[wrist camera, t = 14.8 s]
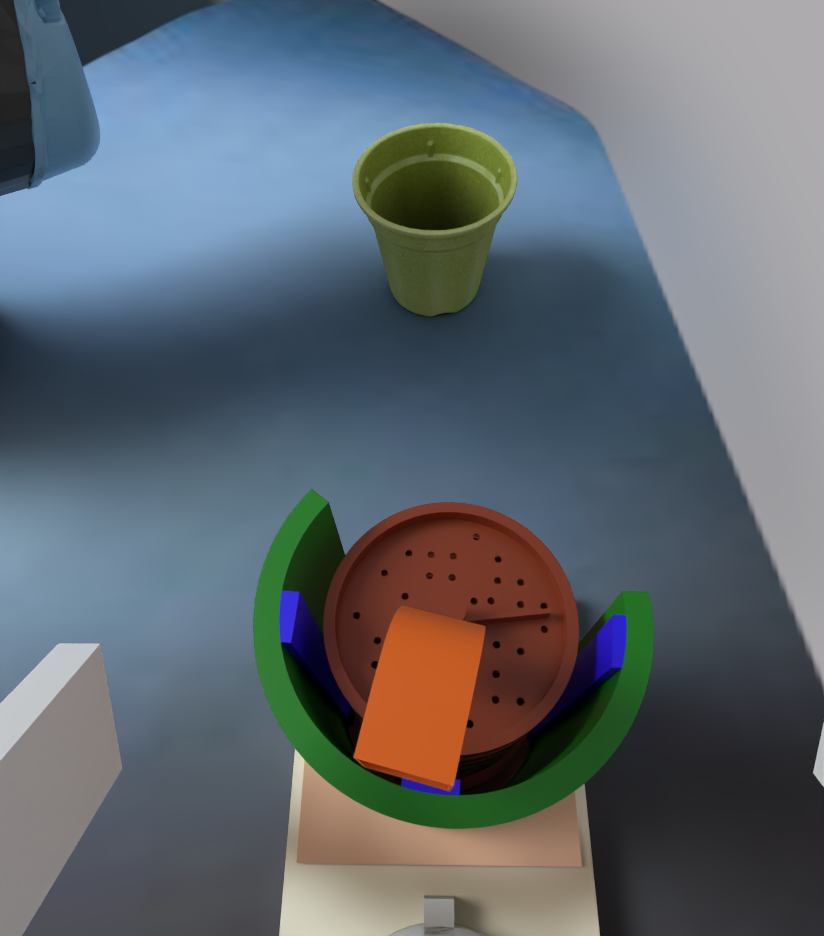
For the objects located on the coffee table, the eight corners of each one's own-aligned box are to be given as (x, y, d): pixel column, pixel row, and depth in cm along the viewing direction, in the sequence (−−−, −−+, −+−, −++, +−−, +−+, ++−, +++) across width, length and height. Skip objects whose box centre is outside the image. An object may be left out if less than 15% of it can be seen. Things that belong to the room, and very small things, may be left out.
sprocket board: (313, 597, 35) (298, 569, 31) (559, 597, 34) (576, 570, 30) (260, 1246, 24) (226, 1335, 20) (623, 1256, 23) (663, 1348, 19)
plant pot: (338, 302, 44) (319, 195, 37) (411, 217, 48) (408, 103, 40) (458, 359, 42) (465, 258, 34) (526, 265, 45) (546, 154, 38)
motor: (549, 628, 32) (698, 402, 14) (552, 837, 28) (767, 882, 10) (343, 613, 33) (242, 378, 15) (317, 815, 29) (134, 823, 11)
